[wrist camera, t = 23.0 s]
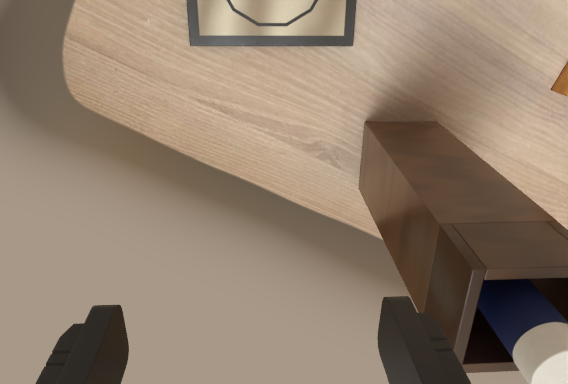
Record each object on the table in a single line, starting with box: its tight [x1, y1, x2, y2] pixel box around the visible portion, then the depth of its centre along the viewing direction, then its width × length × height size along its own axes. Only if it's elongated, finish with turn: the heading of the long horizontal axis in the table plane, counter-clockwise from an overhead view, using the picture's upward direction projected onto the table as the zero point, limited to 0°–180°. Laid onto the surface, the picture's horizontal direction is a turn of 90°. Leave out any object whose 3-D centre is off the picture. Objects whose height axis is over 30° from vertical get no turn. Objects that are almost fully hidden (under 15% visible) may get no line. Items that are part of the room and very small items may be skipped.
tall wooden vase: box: [359, 121, 568, 373], centre depth 39 cm, size 8×8×27 cm
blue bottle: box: [477, 279, 568, 384], centre depth 27 cm, size 4×4×9 cm
